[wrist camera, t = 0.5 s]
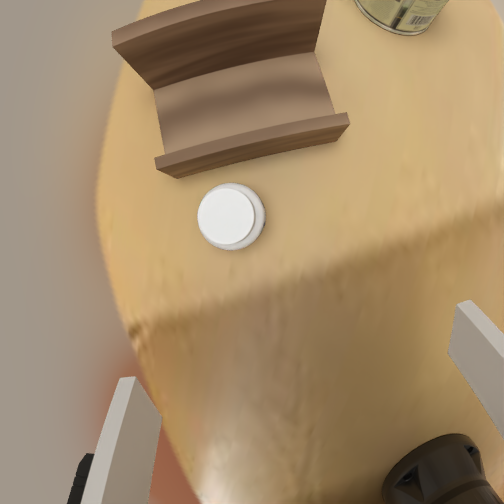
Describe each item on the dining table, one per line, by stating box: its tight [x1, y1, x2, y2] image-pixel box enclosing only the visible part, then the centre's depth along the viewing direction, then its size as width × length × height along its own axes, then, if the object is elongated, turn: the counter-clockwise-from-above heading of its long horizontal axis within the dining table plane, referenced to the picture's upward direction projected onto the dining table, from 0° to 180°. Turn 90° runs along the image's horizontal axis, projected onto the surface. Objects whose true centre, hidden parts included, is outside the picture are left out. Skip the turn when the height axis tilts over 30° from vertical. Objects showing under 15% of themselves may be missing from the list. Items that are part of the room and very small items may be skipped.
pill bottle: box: [197, 183, 266, 250], centre depth 27 cm, size 5×5×9 cm
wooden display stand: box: [112, 0, 350, 179], centre depth 24 cm, size 11×16×12 cm, turn 103°
